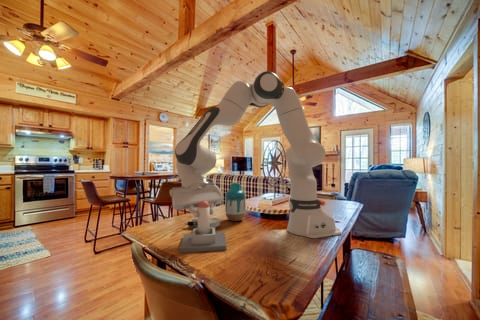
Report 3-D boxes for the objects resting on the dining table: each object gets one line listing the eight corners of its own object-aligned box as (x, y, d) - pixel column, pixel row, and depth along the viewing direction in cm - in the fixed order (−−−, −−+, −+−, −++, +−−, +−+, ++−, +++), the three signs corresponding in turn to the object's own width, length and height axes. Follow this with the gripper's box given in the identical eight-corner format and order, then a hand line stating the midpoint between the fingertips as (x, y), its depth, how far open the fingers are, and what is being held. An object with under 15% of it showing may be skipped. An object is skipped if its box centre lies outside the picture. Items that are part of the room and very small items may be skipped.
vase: (224, 223, 103) (224, 184, 103) (225, 217, 114) (225, 182, 114) (246, 223, 103) (245, 184, 103) (245, 217, 114) (245, 182, 114)
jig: (224, 235, 87) (224, 224, 87) (226, 250, 73) (226, 237, 73) (184, 237, 85) (184, 226, 85) (179, 252, 71) (179, 239, 71)
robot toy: (183, 230, 96) (204, 235, 87) (182, 220, 97) (204, 224, 87) (203, 223, 106) (224, 227, 96) (202, 214, 106) (224, 217, 97)
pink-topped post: (209, 230, 81) (209, 199, 81) (209, 234, 77) (209, 201, 77) (198, 231, 81) (198, 199, 80) (197, 235, 76) (197, 201, 76)
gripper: (170, 182, 78) (179, 214, 70) (217, 179, 90) (230, 206, 82) (166, 193, 82) (174, 224, 74) (213, 189, 94) (224, 215, 86)
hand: (204, 215), depth 78 cm, fingers closed on pink-topped post, 4 cm apart
